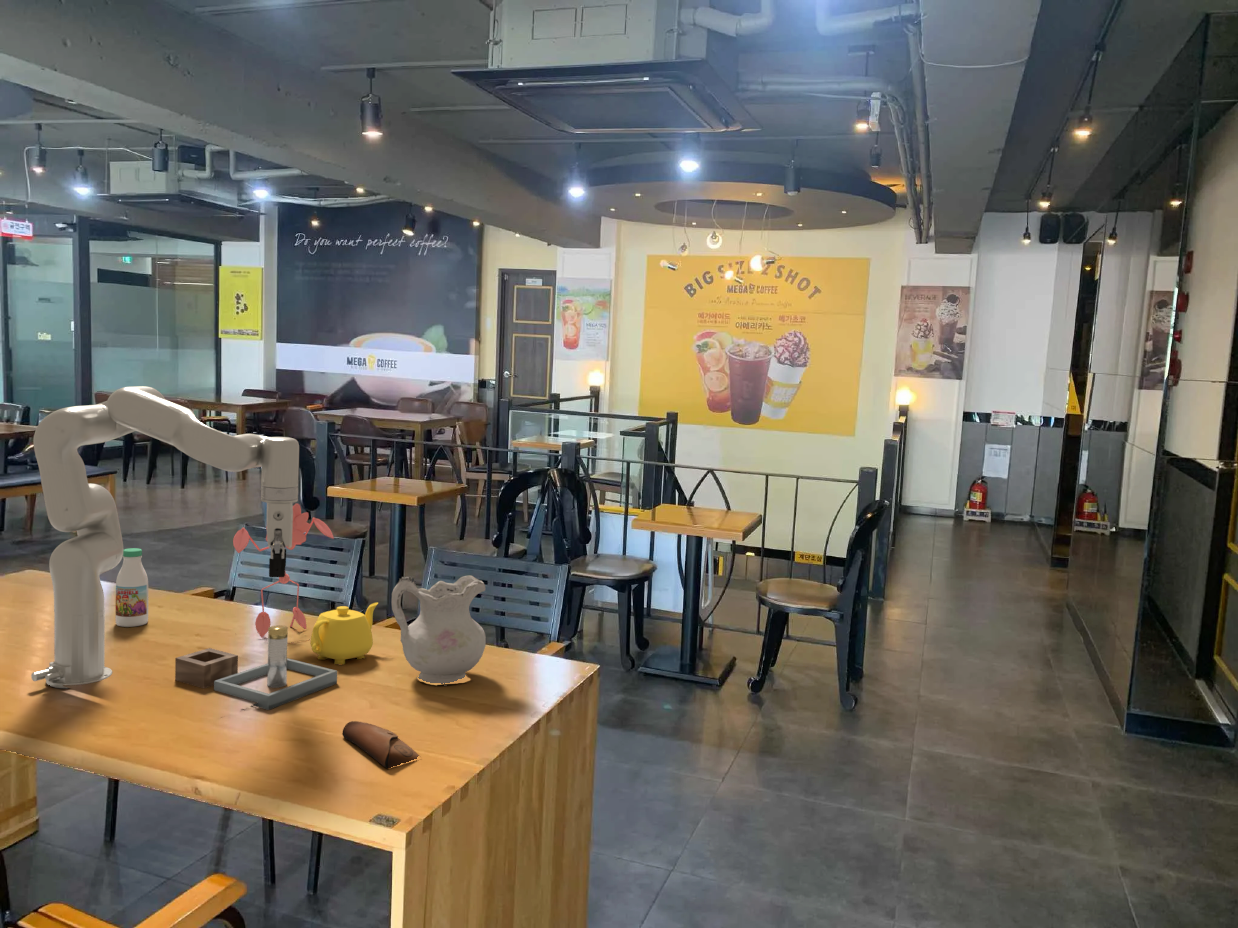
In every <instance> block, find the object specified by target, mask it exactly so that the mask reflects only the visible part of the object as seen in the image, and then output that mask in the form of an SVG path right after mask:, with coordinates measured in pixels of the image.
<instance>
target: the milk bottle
mask: <svg viewBox="0 0 1238 928" xmlns="http://www.w3.org/2000/svg"><path fill="white" fill-rule="evenodd" d="M142 558H143V550H142V548H136V547H134V548H133V547H131V548H123V556H122V559H123V562H122V564H121V568H120V569H119V572H118V573H117V576H116V579H115V580H116V581H115V624H116V625H117V626H118V627H123V628H124V627H125V628H129V627H132V628H133V627H134V628H135V627H139V626H143V625H146V624H147V623H148V622H149V578H148V575H147V572H146V569H145V568H144V565H143V563H142Z"/></svg>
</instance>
